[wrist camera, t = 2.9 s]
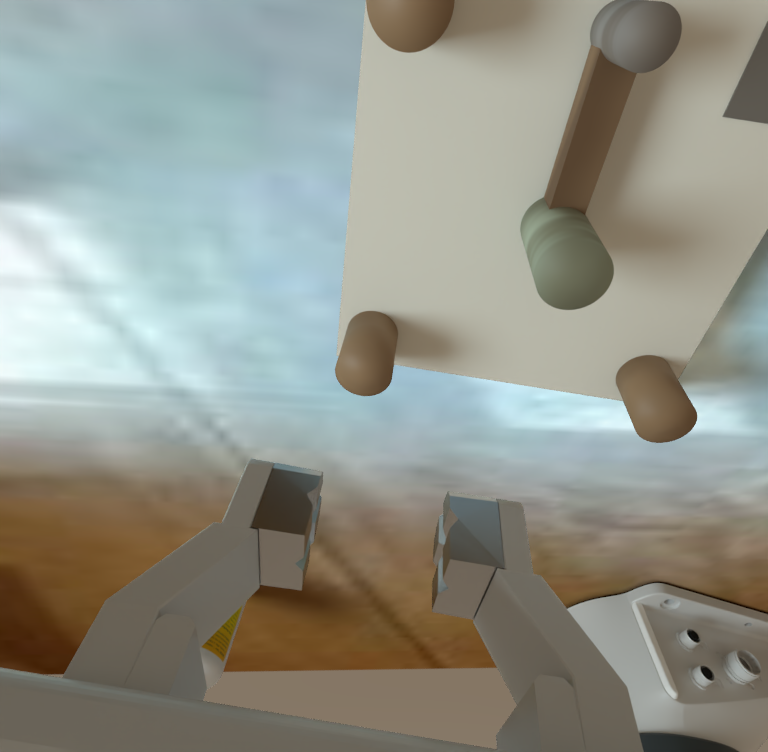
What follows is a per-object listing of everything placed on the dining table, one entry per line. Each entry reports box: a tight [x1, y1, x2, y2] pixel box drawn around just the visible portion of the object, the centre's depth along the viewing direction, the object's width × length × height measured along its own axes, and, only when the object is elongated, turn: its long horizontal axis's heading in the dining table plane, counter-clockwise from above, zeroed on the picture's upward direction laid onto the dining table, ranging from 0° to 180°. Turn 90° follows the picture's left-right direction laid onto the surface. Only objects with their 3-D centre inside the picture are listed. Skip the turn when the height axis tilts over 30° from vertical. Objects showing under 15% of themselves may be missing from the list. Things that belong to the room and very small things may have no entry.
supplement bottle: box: [200, 602, 246, 689], centre depth 47 cm, size 7×7×13 cm
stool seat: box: [335, 0, 768, 443], centre depth 25 cm, size 20×20×6 cm
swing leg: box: [520, 0, 682, 310], centre depth 21 cm, size 3×10×6 cm, turn 173°
